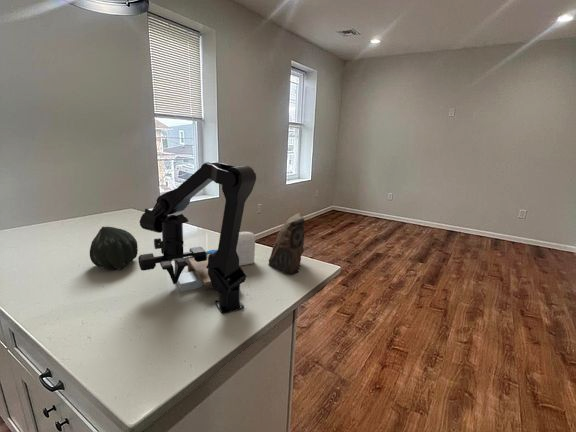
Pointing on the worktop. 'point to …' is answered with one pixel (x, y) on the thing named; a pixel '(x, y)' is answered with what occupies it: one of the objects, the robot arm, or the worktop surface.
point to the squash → (113, 248)
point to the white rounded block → (246, 248)
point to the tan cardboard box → (200, 271)
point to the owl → (289, 246)
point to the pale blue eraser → (189, 281)
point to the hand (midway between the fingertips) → (174, 283)
